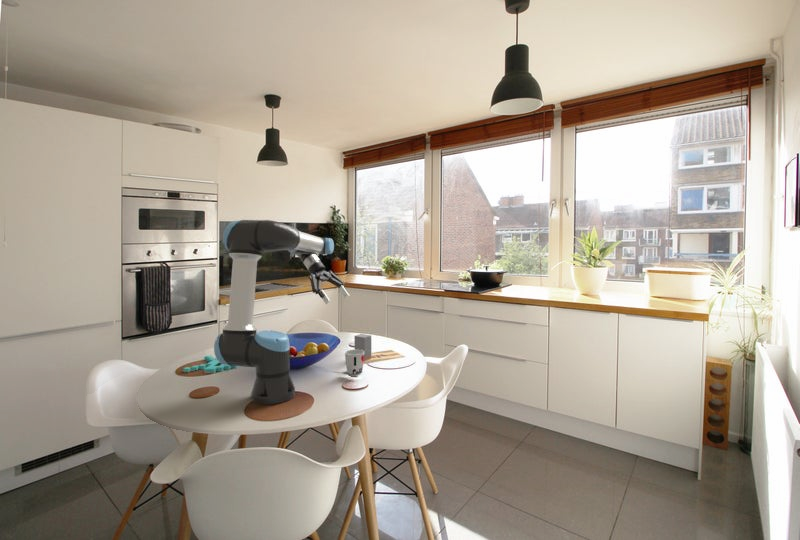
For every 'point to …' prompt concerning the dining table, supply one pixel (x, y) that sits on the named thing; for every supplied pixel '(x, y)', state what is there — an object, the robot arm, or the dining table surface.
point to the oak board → (383, 356)
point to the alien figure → (210, 366)
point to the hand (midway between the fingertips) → (338, 299)
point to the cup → (354, 361)
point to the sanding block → (363, 345)
